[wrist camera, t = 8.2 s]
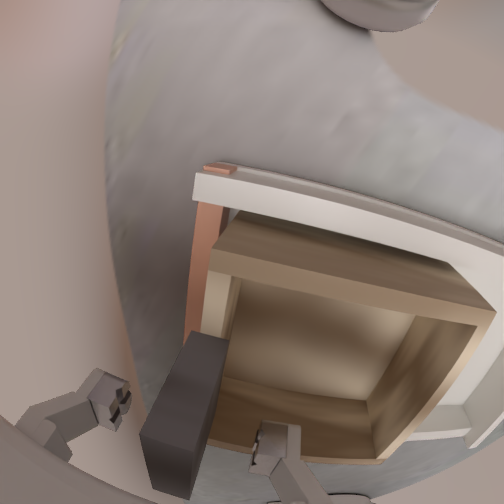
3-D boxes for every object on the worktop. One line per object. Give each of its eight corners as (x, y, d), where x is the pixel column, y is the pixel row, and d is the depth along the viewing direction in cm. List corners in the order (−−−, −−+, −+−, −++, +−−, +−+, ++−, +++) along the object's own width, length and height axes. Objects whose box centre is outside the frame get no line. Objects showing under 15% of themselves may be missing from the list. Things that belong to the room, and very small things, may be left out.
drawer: (369, 400, 19) (387, 528, 9) (208, 371, 20) (158, 507, 9) (443, 258, 14) (556, 387, 4) (235, 206, 15) (125, 339, 5)
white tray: (459, 406, 20) (475, 447, 15) (191, 373, 21) (169, 425, 16) (543, 262, 14) (583, 293, 9) (219, 161, 15) (184, 171, 10)
